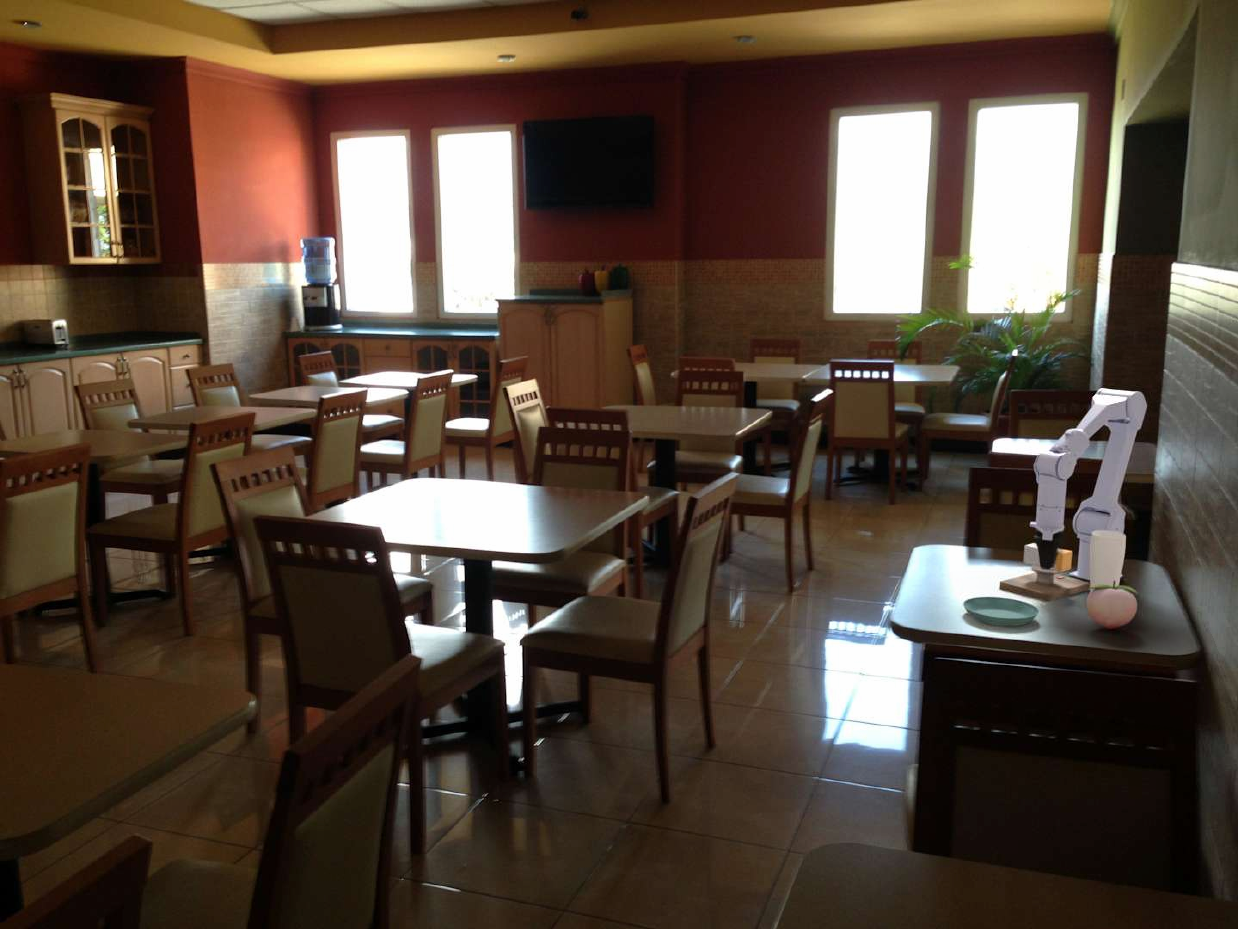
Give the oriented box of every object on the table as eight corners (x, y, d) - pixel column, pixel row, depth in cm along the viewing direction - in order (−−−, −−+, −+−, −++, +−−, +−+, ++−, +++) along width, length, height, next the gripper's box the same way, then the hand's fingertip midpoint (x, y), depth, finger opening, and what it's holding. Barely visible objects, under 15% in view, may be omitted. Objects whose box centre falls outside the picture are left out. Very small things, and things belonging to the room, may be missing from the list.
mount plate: (1041, 576, 242) (1042, 560, 241) (1089, 589, 232) (1090, 572, 232) (999, 588, 233) (1000, 570, 233) (1047, 601, 223) (1048, 583, 223)
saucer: (1041, 614, 216) (1042, 601, 216) (1035, 635, 203) (1035, 622, 202) (967, 604, 222) (968, 592, 222) (957, 624, 209) (958, 611, 209)
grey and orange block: (1034, 564, 237) (1036, 542, 236) (1073, 573, 230) (1074, 550, 229) (1020, 568, 234) (1021, 546, 233) (1058, 577, 226) (1060, 554, 226)
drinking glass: (1080, 601, 224) (1086, 533, 221) (1092, 594, 229) (1098, 528, 226) (1113, 608, 219) (1119, 539, 216) (1124, 601, 224) (1131, 534, 221)
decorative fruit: (1095, 636, 202) (1099, 586, 200) (1078, 622, 210) (1082, 575, 208) (1144, 637, 201) (1149, 587, 199) (1126, 623, 209) (1130, 575, 208)
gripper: (1033, 497, 238) (1029, 554, 240) (1029, 510, 225) (1025, 570, 227) (1066, 500, 235) (1062, 558, 237) (1064, 513, 222) (1059, 574, 224)
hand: (1046, 564), depth 232 cm, fingers closed on grey and orange block, 5 cm apart
